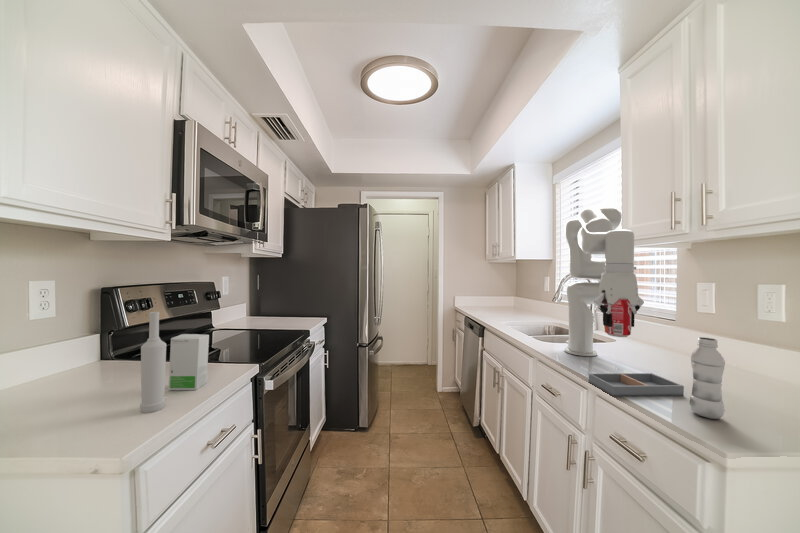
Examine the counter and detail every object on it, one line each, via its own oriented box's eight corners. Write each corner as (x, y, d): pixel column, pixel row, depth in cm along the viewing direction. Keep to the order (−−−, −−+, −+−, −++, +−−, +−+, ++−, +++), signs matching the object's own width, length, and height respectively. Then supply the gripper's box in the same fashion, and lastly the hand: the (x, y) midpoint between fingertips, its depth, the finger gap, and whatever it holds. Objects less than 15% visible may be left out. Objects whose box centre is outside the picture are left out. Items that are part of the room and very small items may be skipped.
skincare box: (167, 391, 92) (168, 338, 92) (180, 382, 98) (181, 333, 98) (197, 390, 93) (198, 338, 93) (208, 382, 99) (209, 333, 99)
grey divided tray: (588, 382, 103) (588, 373, 103) (651, 382, 104) (651, 373, 104) (613, 396, 92) (613, 386, 92) (683, 396, 93) (683, 386, 93)
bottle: (140, 407, 81) (142, 311, 81) (165, 402, 84) (166, 310, 84) (139, 415, 77) (140, 314, 77) (165, 409, 80) (166, 312, 80)
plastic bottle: (716, 413, 82) (717, 337, 82) (730, 425, 76) (731, 343, 76) (684, 408, 85) (685, 335, 85) (696, 419, 78) (697, 340, 78)
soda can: (622, 333, 101) (623, 296, 101) (636, 338, 94) (636, 298, 94) (599, 332, 102) (599, 296, 102) (611, 337, 95) (611, 298, 95)
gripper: (635, 269, 102) (634, 324, 102) (584, 268, 101) (584, 323, 101) (655, 269, 95) (654, 328, 95) (601, 269, 94) (600, 328, 94)
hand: (618, 325), depth 98 cm, fingers closed on soda can, 6 cm apart
